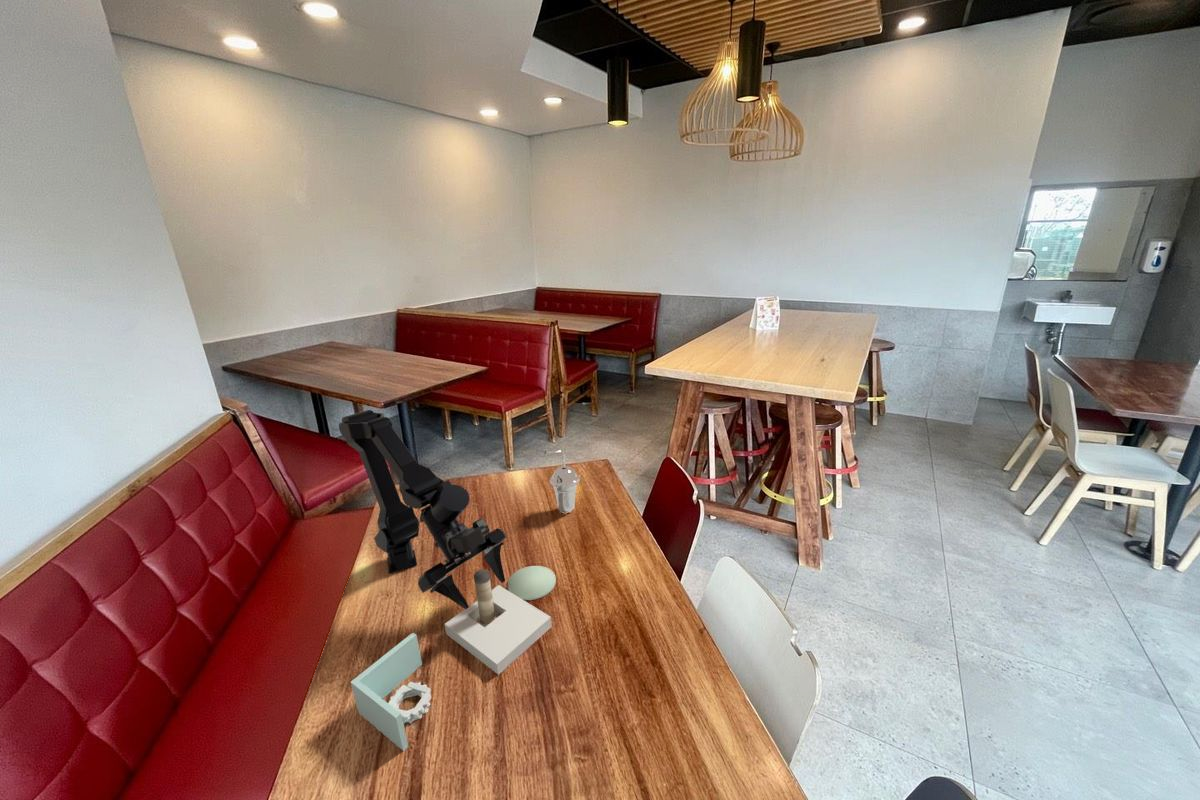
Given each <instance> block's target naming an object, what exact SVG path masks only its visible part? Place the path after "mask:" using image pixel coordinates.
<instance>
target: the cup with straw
mask: <svg viewBox="0 0 1200 800" xmlns="http://www.w3.org/2000/svg"><path fill="white" fill-rule="evenodd" d="M544 454H561V456H562V457H561V458H562V460H561V461H562V466H559V467H558V468H556V469H555V470H554V472H553V474H552V475H551V476H550V478H549V483H550V485H551V486H553V487H552V488H553V491H554V493H555V498H556V504H557V508H558V511H559V510H560V511H561V512H564V513H568V512H571V511H572V510H573V509H574V510H575V503H576V492H577V491H576V490H577V486H578V483H580V476H579V475H578V473H576V470H574V469H573V467H571V466H567V465H566V455H565V454H566V453H565V451H564V450H562V449H561V450H544Z"/></svg>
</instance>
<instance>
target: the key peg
mask: <svg viewBox="0 0 1200 800" xmlns="http://www.w3.org/2000/svg"><path fill="white" fill-rule="evenodd" d="M473 581H474V585H475V586H474V587H475V592H476V599H477V600H476V601H478V609H479V616H478V618H477V619H476V622H478V623H479V624H480V625H482V626H483V627H486V626H487V625H489V624H490V623H491V622H492V621H494V620H495V619H496V618H498V617H499V614H497V613H496V612H494V606H493V598H492V590H493V589H492V582H491V572H490V571H489V570H488V569H485V568H483V569H479V570H477V571H476V572H474V574H473Z"/></svg>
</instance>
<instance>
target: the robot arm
mask: <svg viewBox="0 0 1200 800" xmlns="http://www.w3.org/2000/svg"><path fill="white" fill-rule="evenodd" d="M341 418H342V419H341V422H340V423H339V424H338V429H339V432H340V434H341V436H342V437H343V438H344V440H345V442H346V443H347V445H348V446H349V447H351V448H352V449H354V450H355V451H357V452H358V453H359V456H360V459H361V462H362V464H363V466H364V467H363V468H364V470H365V472H366V475H367V477H368V480H369V483H370V485H371V488H372V490H373V493H374V496H375V499H376V503H377V504H378V506H379V512H378V518H377V521H376V522H377V523H376V524H377V526H378V532H377V534H376V535H375V536H374V537H373V538H374V541H375V544H376V547H377V548H378V549H380V550H382V551H383V552H385V553H386V554H387V557H386V561H387V569H388V570H387V571H388V574H393V573H397V572H400V571H403V570H406V569H409V568H412V567H416V566H417V565H418V561H417V557H416V552H415V550H414V549H413V545H412V539H414V538H417V537H419V536H420V535H419V534H420V531H419V530H420V523H424V524H425V526H426V528H427V529H428V531H429V532H430V534H431V535H432V537H433V539H434V541H435V543H434V546H435V547H436V549H440V550H441V552H442V554H443V555H444V557H445V560H444V563H445V564H444V563H442V562H438V563H437V564H435V565H434V566H432V567H431V568H429V569H427V570H425V571H424V572H423V574H421V575H420V577H418V580H417V585H418V588H419V589H420V591H421V592H422V594H424V593H426V592H427V591H428V590H429V592H430V593H431V594H432V593H434V592H436V593H439V594H440V595H442V596H444V597H446V598H448V599H449V600H451V601H453V602H454V603H455V604H456V605H458V606H460V607H461V608H463V610H465V609H467V608H469V606H470V605H469V604H468V602H467V601H466V598H465V597H464V596H463V594H462V593H461V591H460V590H459V588H458V587H457V586H456V584H455V581H454V579H453V574H450V575H448V574H449V573H450V572H452V571H453V570H455V569H457V568H458V567H460V566H461V565H463V564H464V563H467V562H469V561H470V560H471V559H473V558H474V557H476V556H477V555H479V554H481V553H483V554H485V555H484V556H482V558H483V559H484V561H485V563H486V564H487V565H488V567H489V568H490V570H491V572H493V574H494V575H495V576H496V578H497V579H498V581H499V582H501V584H503V583H505V582H506V578H505V573H504V568H503V563H502V559H501V549H502V547H503V546H504V545H505V544H504V543H505V542H504V540H506V538H507V537H508V536H507V535H506V533H505V532H504V530H502V529H500V528H498V527H497V528H495V529H494V530H492V531H490V528H489V525H488V524H487V523H486V521H485V519H484V518H480V519H477V520H476V521H473V522H472V527H469V528H468V527H467V526H466V524H464V522H461V523H460V522H459V520H458V517H460V515H461V514H462V513H463V511H464V510H465V509H466V508H467V507H468V505H469V504H470V503H469V502H470V494H469V492H468V490H467V489H466V488H464V487H463V486H461V485H458V484H452V482H450V480H449V479H448V480H446V481H445V480H443V479H441V478H440V477H438V476H437V475H436V474H435V473H434V472H433V471H432V470H431V468H429V467H427V466H424V465H422V464H420V463H419V462H418V461H417V460H416V459H415V457H414V456H413V454H412V453H411V451H410V450H409V449H408V448H407V446H406V445H405V443H404V442H403V440H402V439H401V438H400V436H399V435H398V433H397V432H396V431H395V429H394V427H393V424H392V421H391V419H390V418H389V417H387V416H385V415H384V413H382V412H374V411H373V410H372V409H366V410H362V411H360V412H356V413H352V414H349V415H346V416H343V417H341ZM389 466H390V468H391V470H393V471H392V472H394V474H395V475H396V477H397V478H398V480H399V482H398V483H399V485H398V486H399V487H398V490H399V491H398V490H397V486H396V485H395V481H394V479H393V476H392V473H391V471H390V469H389ZM399 493H400V494H401V497H402V498H400V495H399ZM401 499H402V501H401ZM421 508H422V509H421ZM414 509H415V510H416V509H417V510H420V512H421V513H420V516H419V518H418V517H417V516H416V513H415V512H414Z"/></svg>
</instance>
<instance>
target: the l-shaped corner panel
mask: <svg viewBox="0 0 1200 800" xmlns="http://www.w3.org/2000/svg"><path fill="white" fill-rule="evenodd" d="M418 641H419V640H418V635H417V634H416V633H414V632H411V634H409V635H408V636H406V637H405V638H404V639H403V640H402V641H400V642H398V644H396V645H395V646H394V647H393V648H391V649H390V650H388V652H385V654H384V655H383V656H381V657H380V658H379V659H378V660H377V661H375V662H373V663H372V664H371V665H370V666H368V667H367V668H366V669H365V670H364V671H363V672H361V673H359V675H357V676H356V677H355V678H354V679H352V680H351V681H350V684H351V685H350V686H351V689H352V692H353V697H354V701H355V705H356V708H357V712H358V714H359V713H360V714H361V715H362V716H363V717H364V718H363V717H362V716H361V715H360V714H359V715H360V716H361V717H362V718H363V719H365V718H366V719H367V720H368V721H369V722H370V723H369V722H368V721H367V720H366V719H365V720H366V721H367V722H368V723H369V724H371V725H372V724H373V725H374V726H375V727H376V728H375V727H374V726H373V725H372V726H373V727H374V728H375V729H377V730H378V731H379V732H380V731H381V732H382V733H383V734H382V733H381V732H380V733H381V734H382V735H383V736H385V737H386V738H387V739H389V740H390V741H391V742H392V743H393V744H394V745H395V746H397V747H398V748H399V749H400V750H401V751H402V752H405V751H406V750H407V748H408V747H409V742H408V738H407V734H406V729H405V726H404V725H405V724H406V723H409V724H412V723H413V722H414V721H417V720H421V719H422V718H423V715H424V714H425V715H426V714H427V713H428V712H429V707H430V706H431V702H430V700H432V694H431V688H429V687H428V686H427V684H421V681H419V682H413V681H410V682H408V684H407V685H404V684H402V683H403V682H404V681H405V680H406V679H407V678H409V677H410V676H411V675H412V674H413V673H414V672H415V671H416V670H417V669H419V668H420V667H421V666H422V665H423V661H422V656H421V651H420V646H419V642H418ZM400 684H402V685H401V686H400V687H399V685H400ZM397 687H399V688H398V689H396V688H397ZM393 689H394V690H395V689H396V690H395V693H394V695H392V696H390V700H389V701H388V702H387V701H386V700H385V699H384V698H386V697H387V696H388V695H389V694H391V692H392V691H393ZM385 696H386V697H385ZM416 696H419V697H420V700H419V701H418V702H417V704H416V705H415V706H414V707H413V708H411V709H408V710H405V709H402V708H401V709H400V705H401V704H402V703H403V702H404V699H408V698H412V697H416ZM382 698H383V699H382Z"/></svg>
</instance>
